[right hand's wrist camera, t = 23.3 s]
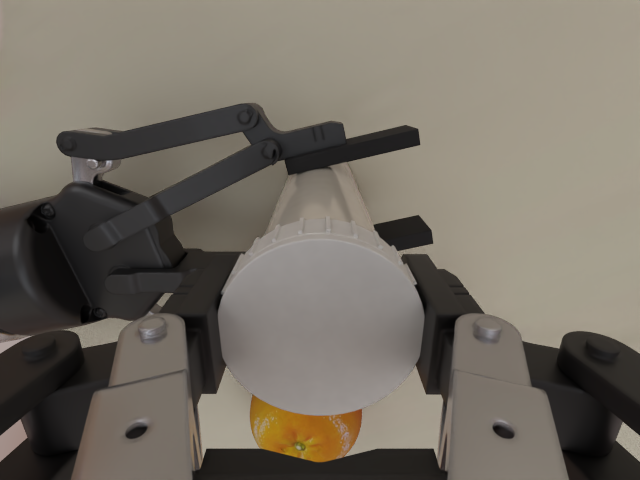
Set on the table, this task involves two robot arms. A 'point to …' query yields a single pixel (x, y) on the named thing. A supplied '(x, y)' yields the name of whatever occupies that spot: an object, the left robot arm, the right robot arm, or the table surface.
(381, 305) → the lid
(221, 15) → the table surface
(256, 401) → the fruit
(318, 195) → the beige plastic cylinder
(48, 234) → the left robot arm
